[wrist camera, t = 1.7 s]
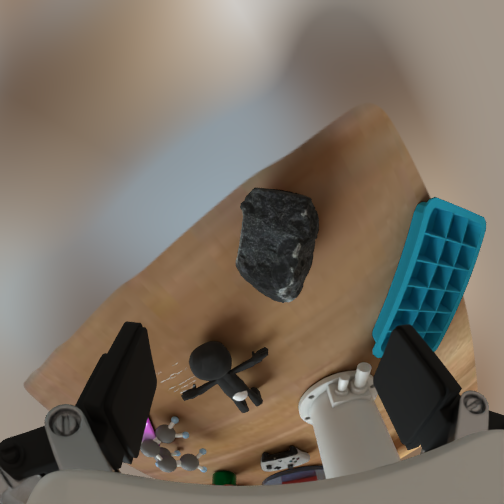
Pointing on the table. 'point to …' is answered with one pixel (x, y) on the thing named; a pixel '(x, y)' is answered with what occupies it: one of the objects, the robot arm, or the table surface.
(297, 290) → the rock
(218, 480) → the soda can
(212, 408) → the table surface
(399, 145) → the table surface
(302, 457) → the game controller
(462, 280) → the ice cube tray
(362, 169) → the table surface
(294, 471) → the plate
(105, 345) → the table surface
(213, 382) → the figurine
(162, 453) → the molecule model
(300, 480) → the block
